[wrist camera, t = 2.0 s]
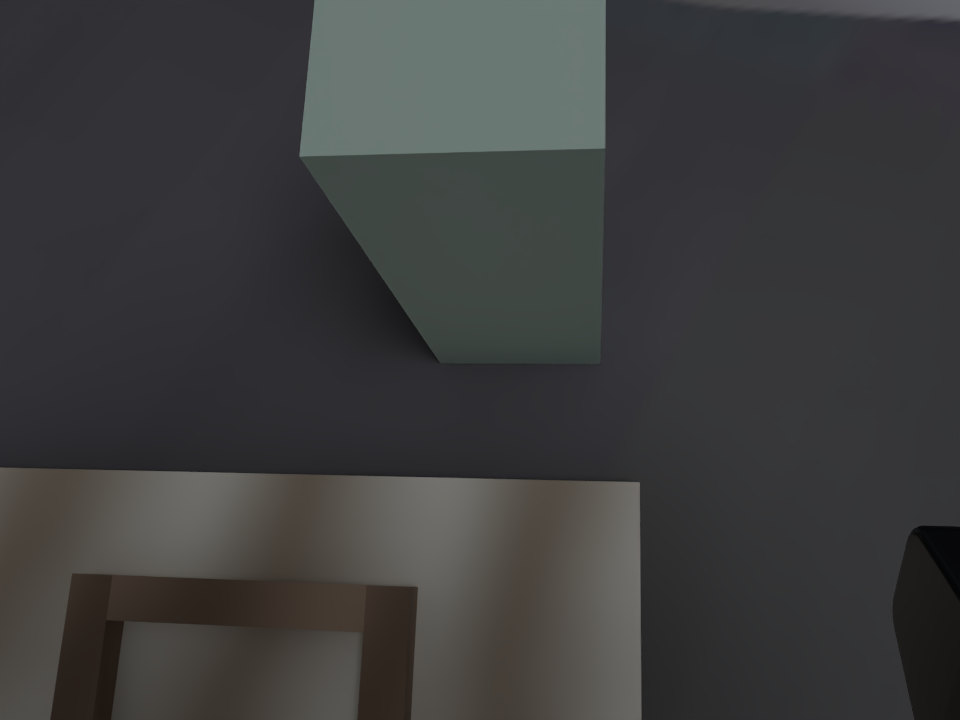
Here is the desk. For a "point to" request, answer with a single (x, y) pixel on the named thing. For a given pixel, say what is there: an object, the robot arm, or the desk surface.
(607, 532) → the beige flat board
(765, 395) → the desk surface
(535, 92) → the pillar block
